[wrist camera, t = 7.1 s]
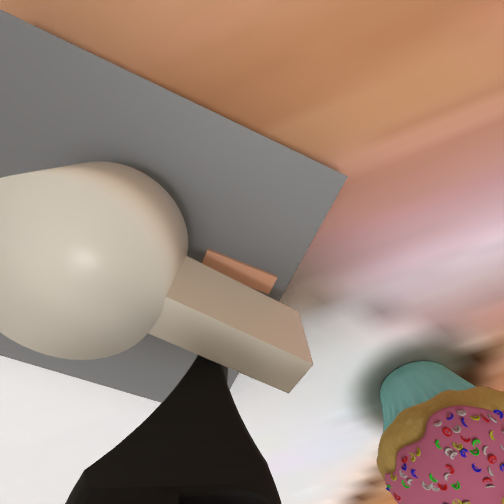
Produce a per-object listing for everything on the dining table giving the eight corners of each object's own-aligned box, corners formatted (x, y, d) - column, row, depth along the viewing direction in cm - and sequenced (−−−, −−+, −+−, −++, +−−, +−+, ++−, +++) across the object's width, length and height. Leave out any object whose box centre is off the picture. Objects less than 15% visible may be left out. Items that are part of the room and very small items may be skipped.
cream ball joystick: (22, 261, 12) (-66, 312, 9) (62, 128, 10) (-33, 126, 7) (256, 364, 14) (259, 436, 11) (325, 272, 12) (355, 324, 9)
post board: (-6, 329, 17) (-46, 360, 14) (31, 25, 11) (-26, -4, 9) (216, 397, 19) (211, 433, 17) (337, 172, 13) (355, 179, 11)
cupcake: (357, 340, 17) (550, 703, 6) (498, 331, 17) (948, 687, 6) (349, 435, 21) (466, 783, 10) (467, 428, 21) (724, 774, 9)
